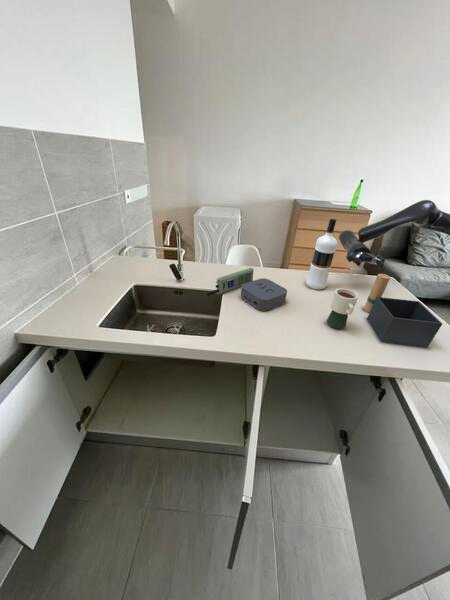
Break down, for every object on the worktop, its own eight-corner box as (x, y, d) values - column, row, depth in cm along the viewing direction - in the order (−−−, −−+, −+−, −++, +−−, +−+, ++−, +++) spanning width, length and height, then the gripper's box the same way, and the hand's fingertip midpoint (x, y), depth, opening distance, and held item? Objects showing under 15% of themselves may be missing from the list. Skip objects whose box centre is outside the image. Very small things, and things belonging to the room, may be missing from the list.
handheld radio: (253, 282, 111) (209, 298, 97) (248, 280, 113) (204, 295, 99) (254, 269, 108) (209, 283, 94) (249, 267, 110) (204, 280, 96)
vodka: (300, 281, 114) (316, 216, 99) (317, 280, 117) (335, 215, 101) (312, 291, 107) (331, 222, 91) (330, 289, 109) (351, 221, 94)
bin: (407, 323, 89) (419, 301, 84) (427, 347, 78) (442, 323, 73) (366, 318, 91) (376, 296, 86) (381, 341, 79) (393, 318, 74)
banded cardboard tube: (372, 308, 97) (387, 274, 90) (377, 314, 94) (393, 279, 86) (361, 306, 98) (375, 272, 90) (365, 312, 94) (380, 278, 86)
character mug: (352, 334, 82) (366, 302, 75) (332, 334, 81) (344, 302, 75) (338, 316, 91) (348, 285, 84) (319, 316, 91) (329, 285, 84)
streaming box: (288, 302, 98) (290, 291, 95) (262, 313, 90) (263, 301, 88) (263, 287, 108) (264, 277, 105) (237, 296, 100) (238, 285, 97)
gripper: (344, 241, 111) (355, 254, 97) (377, 244, 110) (393, 258, 96) (339, 257, 115) (349, 271, 101) (371, 260, 114) (385, 275, 100)
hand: (370, 265), depth 99 cm, fingers open, 8 cm apart
